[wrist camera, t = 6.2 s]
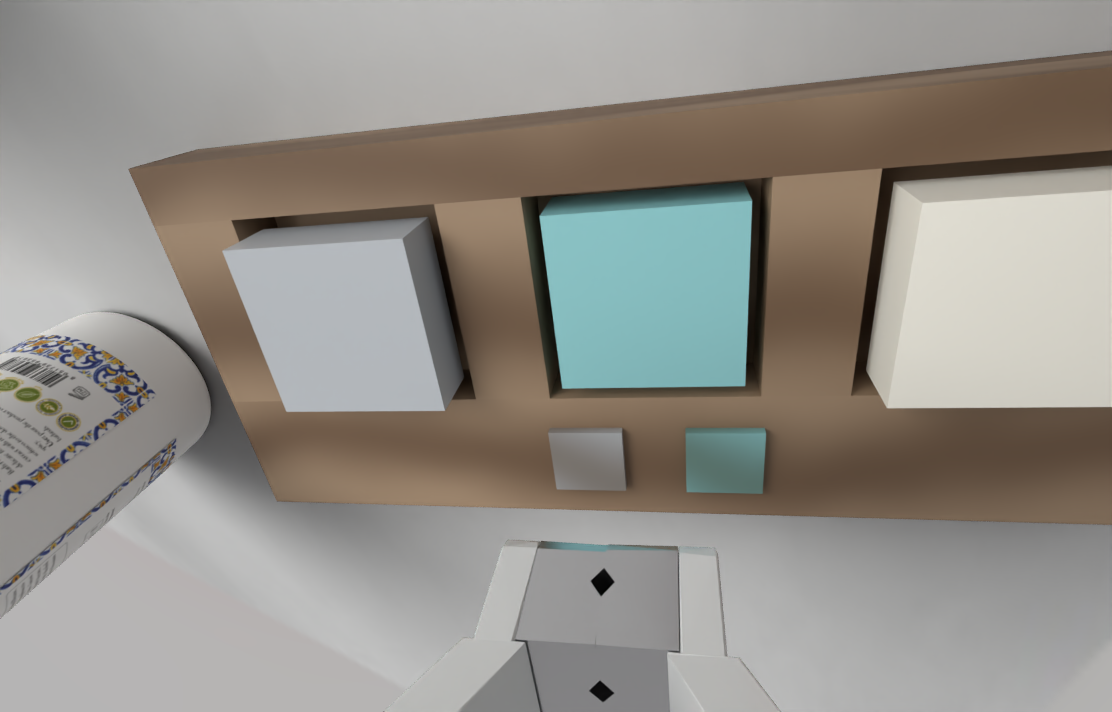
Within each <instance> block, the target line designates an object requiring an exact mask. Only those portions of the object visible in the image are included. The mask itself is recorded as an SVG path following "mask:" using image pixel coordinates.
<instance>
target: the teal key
mask: <svg viewBox="0 0 1112 712" xmlns="http://www.w3.org/2000/svg"><path fill="white" fill-rule="evenodd" d="M751 218H752V199H751V197H750V195H749V193H748V190H747V188H746V186H745V184H744V182H737V183H724V184H712V185H699V186H686V187H674V188H661V189H648V190H635V191H623V192H610V193H597V194H585V195H572V196H559V197H552V198H551V199H550V201H549V202H548V204H547V206H546V207H545V209H544V210H543V212H542V213H541V215H540V224H541V231H542V239H543V246H544V254H545V261H546V269H547V276H548V284H549V291H550V299H551V306H552V314H553V321H554V329H555V336H556V344H557V351H558V359H559V366H560V374H561V381H562V389H571V388H647V387H724V386H745V379H746V352H747V325H748V298H749V272H750V245H751Z"/></svg>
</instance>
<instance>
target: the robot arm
mask: <svg viewBox="0 0 1112 712" xmlns="http://www.w3.org/2000/svg"><path fill="white" fill-rule="evenodd" d="M383 712H781V711H780V710H779V708H778V707H777V706H776V705H775V703H774V702H773V701H772V699H771V698H770V697H769V695H768V694H767V693H766V692H765V690H764V689H763V688H762V686H761V685H760V684H759V682H758V681H757V680H756V678H755V677H754V676H753V675H752V673H751V672H750V671H749V669H748V668H747V667H746V665H745V664H744V663H743V662H742V660H741V659H740V658H737V657H728V656H727V647H726V636H725V625H724V614H723V603H722V593H721V582H720V571H719V560H718V553H717V551H716V549H715V548H705V547H679V560H678V546H643V545H594V544H578V543H563V542H547V541H541V542H538V541H522V540H507V542H506V543H505V545H504V546H503V547H502V549H501V552H500V555H499V559H498V562H497V565H496V568H495V571H494V574H493V578H492V581H491V584H490V587H489V590H488V593H487V597H486V600H485V603H484V606H483V609H482V612H481V616H480V619H479V622H478V625H477V628H476V631H475V635H474V638H462V639H461V640H460V641H459V642H458V643H457V644H456V645H455V646H454V647H452V648H451V649H450V650H449V651H448V652H447V653H446V654H445V655H444V656H443V657H442V658H441V659H440V660H438V661H437V662H436V663H435V664H434V665H433V666H432V667H431V668H430V669H429V670H428V671H427V672H426V673H424V674H423V675H422V676H421V677H420V678H419V679H418V680H417V681H416V682H415V683H414V684H413V685H411V686H410V687H409V688H408V689H407V690H406V691H405V692H404V693H403V694H402V695H401V696H400V697H399V698H397V699H396V700H395V701H394V702H393V703H392V704H391V705H390V706H389V707H388V708H387V709H386V710H385V711H383Z"/></svg>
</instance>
